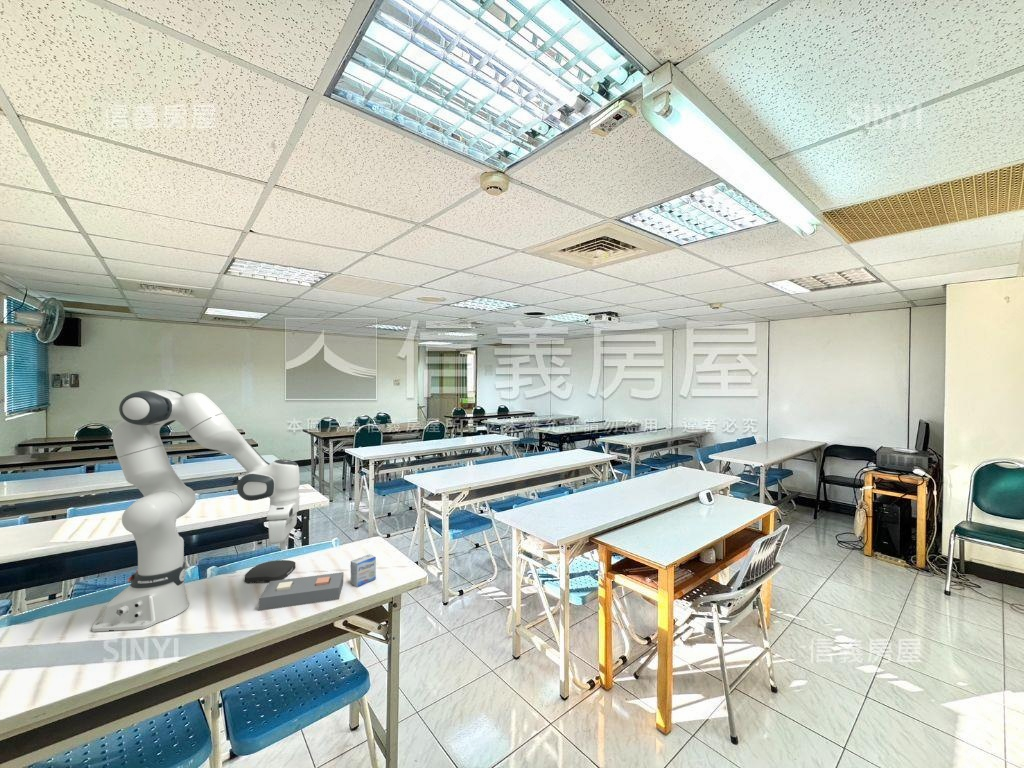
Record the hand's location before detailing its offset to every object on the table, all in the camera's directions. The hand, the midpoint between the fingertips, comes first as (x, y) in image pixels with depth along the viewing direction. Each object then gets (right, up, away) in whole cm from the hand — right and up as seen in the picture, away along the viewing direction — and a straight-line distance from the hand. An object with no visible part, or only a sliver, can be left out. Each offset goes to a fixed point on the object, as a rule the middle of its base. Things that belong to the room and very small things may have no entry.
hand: (283, 547), depth 135 cm
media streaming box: (-15, -18, +17) cm, 29 cm away
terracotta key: (+12, -16, +3) cm, 20 cm away
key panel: (+7, -17, +1) cm, 19 cm away
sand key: (+1, -15, -1) cm, 16 cm away
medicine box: (+23, -18, +11) cm, 31 cm away
